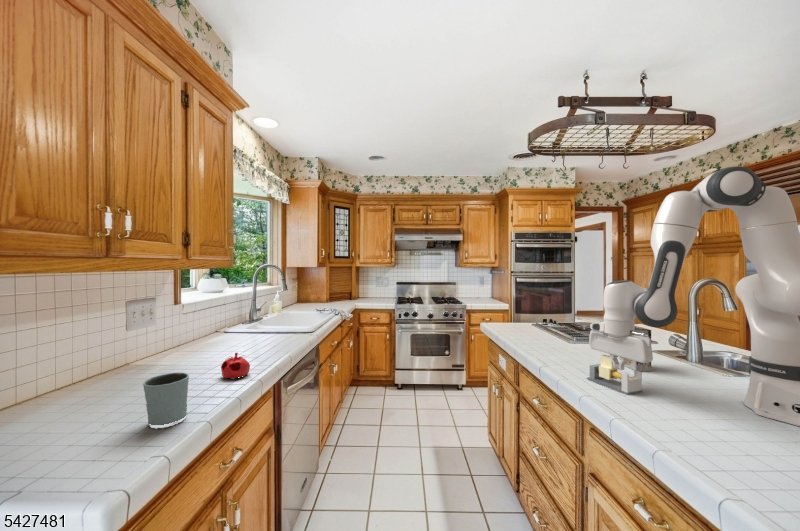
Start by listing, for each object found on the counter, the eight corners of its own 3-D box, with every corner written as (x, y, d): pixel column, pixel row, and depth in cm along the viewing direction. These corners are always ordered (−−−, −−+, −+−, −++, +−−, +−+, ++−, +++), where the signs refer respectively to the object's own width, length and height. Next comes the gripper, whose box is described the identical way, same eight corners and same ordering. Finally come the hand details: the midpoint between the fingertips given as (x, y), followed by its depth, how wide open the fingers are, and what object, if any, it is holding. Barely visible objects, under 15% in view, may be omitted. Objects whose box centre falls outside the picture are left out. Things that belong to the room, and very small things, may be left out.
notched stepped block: (617, 378, 114) (617, 357, 114) (609, 380, 113) (609, 358, 113) (607, 375, 118) (606, 354, 118) (598, 376, 117) (598, 355, 117)
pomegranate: (234, 372, 132) (234, 349, 132) (255, 373, 130) (255, 350, 130) (214, 380, 123) (214, 355, 123) (236, 382, 120) (236, 356, 120)
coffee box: (652, 371, 128) (652, 329, 128) (635, 371, 128) (635, 330, 128) (635, 364, 137) (635, 325, 137) (620, 364, 137) (620, 325, 137)
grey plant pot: (195, 412, 96) (195, 371, 96) (178, 429, 86) (178, 383, 86) (157, 415, 94) (156, 373, 94) (135, 433, 84) (134, 386, 84)
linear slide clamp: (642, 391, 108) (642, 371, 108) (626, 394, 106) (626, 374, 106) (601, 377, 122) (601, 359, 122) (586, 379, 120) (586, 361, 120)
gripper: (657, 333, 103) (657, 377, 103) (599, 322, 122) (599, 359, 122) (643, 335, 101) (643, 380, 101) (586, 323, 120) (586, 361, 120)
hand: (618, 368), depth 112 cm, fingers closed
